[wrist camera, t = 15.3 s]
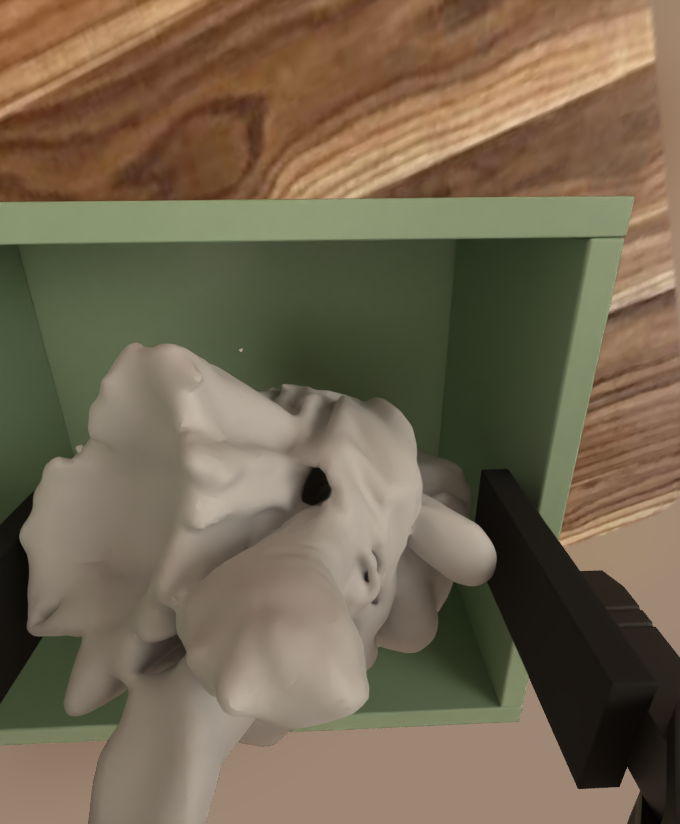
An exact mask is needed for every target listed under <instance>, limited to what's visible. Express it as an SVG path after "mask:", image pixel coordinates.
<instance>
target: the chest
mask: <svg viewBox="0 0 680 824" xmlns="http://www.w3.org/2000/svg"><path fill="white" fill-rule="evenodd" d="M633 202H634V196H564V197H465V198H366V199H267V200H168V201H69V202H0V524H1V523H2V522H3V521H4V520H5V519H6V518H7V517H8V516H9V515H10V514H11V513H12V512H13V511H14V510H15V509H16V508H17V507H18V506H19V505H20V504H21V503H22V502H23V501H24V500H25V499H26V498H27V497H28V496H29V495H30V494H31V493H32V492H33V491H34V490H35V489H36V488H37V487H38V485H39V484H40V482H41V479H42V474H43V470H44V467H45V466H46V464H48V463H49V462H50V461H51V460H52V459H54V458H56V457H64V458H70V459H72V458H73V457H74V456H75V455H76V454H77V453H78V452H77V450H76V449H75V448H76V447H77V446H78V445H83V447H84V445H85V444H86V443H87V442H88V441H89V439H90V438H91V437H90V435H89V431H88V422H89V410H90V406H91V405H92V403H93V402H94V401H95V400H96V399H97V397H98V395H99V391H100V385H101V382H102V379H103V378H104V377H105V376H106V375H107V374H108V372H109V370H110V368H111V367H112V365H113V363H114V361H115V360H116V358H117V357H118V356H119V354H120V353H121V352H122V351H123V350H124V348H125V347H126V346H128V345H129V344H131V343H139V344H142V345H143V346H144V347H155V346H157V345H160V344H176V345H179V346H182V347H184V348H187V349H188V350H190V351H191V352H192V353H194V354H196V355H197V356H199V357H201V358H203V359H204V360H206V361H207V362H208V363H209V364H212V365H215V366H217V367H219V368H220V369H222V370H224V371H225V372H227V373H229V374H230V375H232V376H233V377H235V378H236V379H238V380H240V381H241V382H243V383H245V384H246V385H248V386H250V387H251V388H253V389H254V390H256V391H265V392H266V391H268V390H269V389H270V388H272V387H274V388H276V389H278V390H281V389H282V388H281V387H282V385H283V384H294V385H298V386H308V387H310V388H312V389H315V390H329V391H332V392H335V393H340V394H344V395H347V396H350V397H353V398H356V399H359V400H360V401H368V400H370V399H372V398H375V397H378V398H382V399H385V400H386V401H388V402H390V403H391V404H392V405H393V406H395V407H396V408H397V409H398V410H399V411H401V412H402V413H403V415H404V416H405V418H406V419H407V420H408V421H409V423H410V424H411V426H412V428H413V431H414V435H415V440H416V444H417V448H418V449H420V450H422V451H424V452H427V453H430V454H433V455H435V456H437V457H440V458H444V459H447V460H449V461H451V462H453V463H455V464H457V465H458V466H459V467H460V468H461V469H462V470H463V473H464V476H465V480H466V482H467V483H468V484H469V485H470V487H471V489H472V492H473V505H472V508H471V511H470V514H469V520H471V521H473V522H475V516H476V508H477V500H478V493H479V485H480V477H481V470H487V469H508V470H509V471H510V473H511V474H512V475H513V477H514V478H515V480H516V481H517V483H518V484H519V485H520V487H521V488H522V490H523V491H524V492H525V494H526V495H527V497H528V498H529V500H530V501H531V502H532V504H533V505H534V507H535V508H536V509H537V511H538V512H539V514H540V515H541V517H542V518H543V519H544V521H545V522H546V524H547V525H548V527H549V528H550V529H551V531H552V532H553V534H554V535H555V536H556V538H557V539H558V541H559V537H560V532H561V527H562V523H563V518H564V514H565V509H566V505H567V500H568V495H569V491H570V486H571V482H572V477H573V473H574V468H575V463H576V459H577V454H578V450H579V445H580V441H581V436H582V431H583V427H584V422H585V418H586V413H587V409H588V404H589V399H590V395H591V390H592V386H593V381H594V377H595V372H596V367H597V363H598V358H599V354H600V349H601V345H602V340H603V335H604V331H605V326H606V322H607V317H608V313H609V308H610V303H611V299H612V294H613V290H614V285H615V281H616V276H617V271H618V267H619V262H620V258H621V253H622V249H623V244H624V239H623V238H621V237H625V236H626V234H627V230H628V225H629V221H630V216H631V212H632V207H633ZM242 348H243V351H242V352H240V351H239V349H242ZM437 614H438V628H437V632H436V635H435V637H434V639H433V640H432V641H431V642H430V643H429V644H428V645H427V646H426V647H425V648H423V649H422V650H420V651H418V652H415V653H403V652H399V651H394V650H390V649H386V648H383V647H382V646H381V647H378V654H377V658H376V660H375V662H374V664H373V665H372V667H371V668H370V669H368V670H367V671H366V674H367V680H368V684H369V698H368V700H367V701H366V702H365V703H364V705H363V706H362V707H361V708H360V709H359V710H357V711H356V712H355V713H353V714H351V715H349V716H346V717H344V718H341V719H338V720H334V721H331V722H328V723H324V724H320V725H315V726H311V727H306V728H297V729H295V730H293V731H290V732H305V731H325V730H348V729H368V728H392V727H413V726H436V725H456V724H478V723H500V722H518V721H519V720H520V715H521V711H522V705H523V701H524V696H525V692H526V687H527V683H528V678H529V676H528V674H527V672H526V669H525V667H524V665H523V663H522V660H521V658H520V656H519V654H518V651H517V649H516V647H515V644H514V642H513V640H512V638H511V635H510V633H509V631H508V629H507V626H506V624H505V622H504V619H503V617H502V615H501V613H500V610H499V608H498V606H497V604H496V601H495V599H494V597H493V594H492V592H491V590H490V588H489V585H488V583H487V582H485V583H484V584H481V585H479V586H466V585H462V584H458V583H456V582H453V585H452V587H451V590H450V592H449V595H448V597H447V598H446V600H445V602H444V604H443V605H442V607H441V609H440V610H439V612H438V613H437ZM81 642H82V636H80V637H73V636H68V635H65V636H43V638H42V639H41V641H40V642H39V644H38V646H37V647H36V649H35V650H34V652H33V653H32V655H31V657H30V658H29V660H28V661H27V663H26V664H25V666H24V668H23V669H22V671H21V672H20V674H19V675H18V677H17V679H16V680H15V682H14V683H13V685H12V687H11V688H10V690H9V691H8V693H7V694H6V696H5V698H4V699H3V701H2V702H1V704H0V745H21V744H41V743H42V744H43V743H65V742H85V741H108V739H109V738H110V736H111V735H112V733H113V732H114V730H115V729H116V728H117V726H118V725H119V723H120V721H121V718H122V715H123V711H124V708H125V705H126V701H127V699H128V696H129V693H128V689H127V690H126V691H125V692H123V693H122V694H121V695H119V696H118V697H116V698H114V699H113V700H111V701H110V702H108V703H106V704H105V705H103V706H101V707H99V708H97V709H95V710H93V711H91V712H89V713H87V714H84V715H82V716H70V715H69V714H67V713H66V711H65V709H64V704H63V702H64V698H65V695H66V691H67V687H68V683H69V679H70V676H71V672H72V669H73V666H74V663H75V659H76V656H77V654H78V651H79V648H80V646H81Z"/></svg>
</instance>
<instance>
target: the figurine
mask: <svg viewBox="0 0 680 824" xmlns="http://www.w3.org/2000/svg"><path fill="white" fill-rule="evenodd" d="M239 351H240V352H242V351H243V348H242V349H239ZM281 388H282V389H281V390H278V389H276V388H274V387H272V388H270V389H269V390H268V391H266V392H265V391H256V390H254V389H253V388H251V387H250V386H248V385H246V384H245V383H243V382H241V381H240V380H238V379H236V378H235V377H233V376H232V375H230V374H229V373H227V372H225V371H224V370H222V369H220V368H219V367H217V366H215V365H212V364H209V363H208V362H207V361H206V360H204V359H203V358H201V357H199V356H197V355H196V354H194V353H192V352H191V351H190V350H188V349H187V348H184V347H182V346H179V345H176V344H160V345H157V346H155V347H144V346H143V345H142V344H139V343H131V344H129V345H128V346H126V347H125V348H124V350H123V351H122V352H121V353H120V354H119V356H118V357H117V358H116V360H115V361H114V363H113V365H112V367H111V368H110V370H109V372H108V374H107V375H106V376H105V377H104V378H103V379H102V382H101V385H100V391H99V395H98V397H97V399H96V400H95V401H94V402H93V403H92V405H91V406H90V410H89V422H88V431H89V435H90V437H91V438H90V439H89V441H88V442H87V443H86V444H85V445H84V447H83V445H78V446H77V447H76V448H75V449H76V450H77V452H78V453H77V454H76V455H75V456H74V457H73V458H72V459H70V458H64V457H56V458H54V459H52V460H51V461H50V462H49V463H48V464H46V466H45V467H44V470H43V474H42V479H41V482H40V484H39V485H38V487H37V488H36V490H35V492H34V496H33V508H32V511H31V514H30V516H29V517H28V519H27V520H26V522H25V523H24V524H23V526H22V528H21V530H20V535H19V538H20V543H21V544H22V546H23V548H24V550H25V552H26V553H27V557H28V562H29V581H28V589H27V590H28V593H27V598H28V621H27V630H28V632H29V633H30V634H32V635H33V636H37V637H38V636H65V635H68V636H73V637H80V636H82V642H81V646H80V648H79V651H78V654H77V656H76V659H75V663H74V666H73V669H72V672H71V676H70V679H69V683H68V687H67V691H66V695H65V698H64V702H63V704H64V709H65V711H66V713H67V714H69V715H70V716H82V715H84V714H87V713H89V712H91V711H93V710H95V709H97V708H99V707H101V706H103V705H105V704H106V703H108V702H110V701H111V700H113V699H114V698H116V697H118V696H119V695H121V694H122V693H123V692H125V691H126V690H127V689H128V693H129V696H128V699H127V701H126V705H125V708H124V711H123V715H122V718H121V721H120V723H119V725H118V726H117V728H116V729H115V730H114V732H113V733H112V735H111V736H110V738H109V739H108V741H107V743H106V745H105V747H104V748H103V750H102V752H101V754H100V756H99V759H98V762H97V768H96V772H95V776H94V780H93V786H92V794H91V804H90V813H89V821H88V824H206V822H207V818H208V814H209V809H210V807H211V803H212V800H213V796H214V793H215V790H216V786H217V783H218V779H219V774H220V768H221V766H222V765H223V763H224V762H225V760H226V758H227V757H228V756H229V754H230V752H231V751H232V749H233V748H234V747H235V745H236V744H237V743H243V744H248V745H255V746H262V747H264V746H271V745H274V744H276V743H277V742H278V741H279V740H281V739H282V738H283V737H284V736H285V735H286V734H287V733H288V732H290V731H293V730H295V729H297V728H306V727H311V726H315V725H320V724H324V723H328V722H331V721H334V720H338V719H341V718H344V717H346V716H349V715H351V714H353V713H355V712H356V711H357V710H359V709H360V708H361V707H362V706H363V705H364V703H365V702H366V701H367V700H368V698H369V684H368V680H367V674H366V671H367V670H368V669H370V668H371V667H372V665H373V664H374V662H375V660H376V658H377V654H378V647H381V646H382V647H383V648H386V649H390V650H394V651H399V652H403V653H415V652H418V651H420V650H422V649H423V648H425V647H426V646H427V645H428V644H429V643H430V642H431V641H432V640H433V639H434V637H435V635H436V632H437V628H438V614H437V613H438V612H439V610H440V609H441V607H442V605H443V604H444V602H445V600H446V598H447V597H448V595H449V592H450V590H451V587H452V585H453V582H456V583H458V584H462V585H466V586H479V585H481V584H484V583H485V582H487V581H488V580H489V579H490V578H491V577H492V575H493V574H494V571H495V568H496V562H497V556H496V551H495V548H494V546H493V544H492V542H491V541H490V539H489V537H488V536H487V535H486V533H485V532H484V531H483V529H482V528H481V527H480V526H479V525H477V524H476V523H475V522H473V521H471V520H469V514H470V511H471V508H472V505H473V492H472V489H471V487H470V485H469V484H468V483H467V482H466V480H465V476H464V473H463V470H462V469H461V468H460V467H459V466H458V465H457V464H455V463H453V462H451V461H449V460H447V459H444V458H440V457H437V456H435V455H433V454H430V453H427V452H424V451H422V450H420V449H418V448H417V444H416V440H415V435H414V431H413V428H412V426H411V424H410V423H409V421H408V420H407V419H406V418H405V416H404V415H403V413H402V412H401V411H399V410H398V409H397V408H396V407H395V406H393V405H392V404H391V403H390V402H388V401H386V400H385V399H382V398H378V397H375V398H372V399H370V400H368V401H360V400H359V399H356V398H353V397H350V396H347V395H344V394H340V393H335V392H332V391H329V390H315V389H312V388H310V387H308V386H298V385H294V384H283V385H282V387H281Z"/></svg>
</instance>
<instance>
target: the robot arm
mask: <svg viewBox="0 0 680 824" xmlns="http://www.w3.org/2000/svg"><path fill="white" fill-rule="evenodd" d="M35 490H36V489H35ZM35 490H34V491H33V492H32V493H31V494H30V495H29V496H28V497H27V498H26V499H25V500H24V501H23V502H22V503H21V504H20V505H19V506H18V507H17V508H16V509H15V510H14V511H13V512H12V513H11V514H10V515H9V516H8V517H7V518H6V519H5V520H4V521H3V522H2V523H1V524H0V704H1V702H2V701H3V699H4V698H5V696H6V694H7V693H8V691H9V690H10V688H11V687H12V685H13V683H14V682H15V680H16V679H17V677H18V675H19V674H20V672H21V671H22V669H23V668H24V666H25V664H26V663H27V661H28V660H29V658H30V657H31V655H32V653H33V652H34V650H35V649H36V647H37V646H38V644H39V642H40V641H41V639H42V638H43V636H38V637H37V636H33V635H32V634H30V633H29V632H28V630H27V621H28V598H27V593H28V590H27V589H28V581H29V562H28V557H27V553H26V552H25V550H24V548H23V546H22V544H21V543H20V538H19V535H20V530H21V528H22V526H23V524H24V523H25V522H26V520H27V519H28V517H29V516H30V514H31V511H32V508H33V496H34V492H35ZM475 523H476V524H477V525H479V526H480V527H481V528H482V529H483V531H484V532H485V533H486V535H487V536H488V537H489V539H490V541H491V542H492V544H493V546H494V548H495V551H496V556H497V562H496V568H495V571H494V574H493V575H492V577H491V578H490V579H489V580H488V581H487V583H488V585H489V588H490V590H491V592H492V594H493V597H494V599H495V601H496V604H497V606H498V608H499V610H500V613H501V615H502V617H503V619H504V622H505V624H506V626H507V629H508V631H509V633H510V635H511V638H512V640H513V642H514V644H515V647H516V649H517V651H518V654H519V656H520V658H521V660H522V663H523V665H524V667H525V669H526V672H527V674H528V676H529V678H530V681H531V683H532V685H533V688H534V690H535V692H536V694H537V697H538V699H539V701H540V703H541V706H542V708H543V710H544V713H545V715H546V717H547V719H548V722H549V724H550V726H551V728H552V731H553V733H554V735H555V738H556V740H557V742H558V744H559V746H560V749H561V751H562V753H563V756H564V758H565V760H566V762H567V765H568V767H569V769H570V772H571V774H572V776H573V778H574V781H575V783H576V785H577V788H578V789H586V788H608V787H620V784H621V782H622V779H623V776H624V774H625V771H626V769H627V767H628V769H629V771H630V772H631V774H632V776H633V778H634V780H635V782H636V783H637V785H638V787H639V789H640V793H639V795H638V798H637V800H636V802H635V805H634V807H633V810H632V812H631V815H630V817H629V820H628V823H627V824H680V657H679V656H678V655H677V653H676V652H675V651H674V650H673V648H672V647H671V646H670V645H669V643H668V642H667V641H666V640H665V638H664V637H663V636H662V634H661V633H660V632H659V631H658V629H657V628H656V627H653V625H652V622H651V621H650V620H649V618H648V617H647V615H646V614H645V613H644V612H643V611H642V610H640V609H639V605H638V604H637V603H636V602H635V600H634V599H633V598H632V596H631V595H630V594H629V593H628V591H627V590H626V589H625V588H624V587H623V586H622V585H621V584H619V583H618V582H617V581H615V580H614V579H612V578H611V577H610V576H609V575H607V574H606V573H605V572H603V571H579V569H578V568H577V566H576V565H575V563H574V562H573V561H572V559H571V558H570V556H569V555H568V553H567V552H566V551H565V549H564V548H563V546H562V545H561V544H560V542H559V541H558V539H557V538H556V536H555V535H554V534H553V532H552V531H551V529H550V528H549V527H548V525H547V524H546V522H545V521H544V519H543V518H542V517H541V515H540V514H539V512H538V511H537V509H536V508H535V507H534V505H533V504H532V502H531V501H530V500H529V498H528V497H527V495H526V494H525V492H524V491H523V490H522V488H521V487H520V485H519V484H518V483H517V481H516V480H515V478H514V477H513V475H512V474H511V473H510V471H509V470H508V469H487V470H481V477H480V485H479V493H478V500H477V508H476V516H475Z"/></svg>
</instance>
